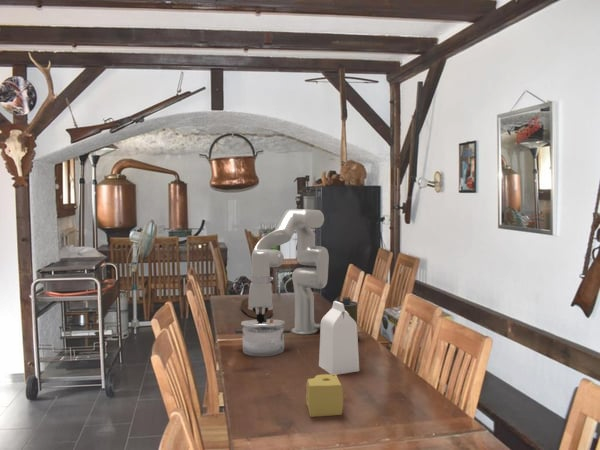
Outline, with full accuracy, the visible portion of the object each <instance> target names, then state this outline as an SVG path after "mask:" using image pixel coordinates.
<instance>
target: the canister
mask: <svg viewBox="0 0 600 450" xmlns="http://www.w3.org/2000/svg"><path fill="white" fill-rule="evenodd" d="M338 302H340V303H342V304H344V309H345V311H347V312H348V313H349V316H350V317H351V318H352V319H354V321H355V322H356V324H357V325H358V305H359V304H358V302H356V301H353V300H352V299H351V297H350V296H343V297H342V300H340V301H338Z"/></svg>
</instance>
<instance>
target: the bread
mask: <svg viewBox="0 0 600 450" xmlns="http://www.w3.org/2000/svg"><path fill="white" fill-rule="evenodd" d="M248 300H249V296H248V297H246V298H244V299H243V300H242V301H241V304H240V308H241V310H242V311H243V312H244V313H245V314H246V315H247V316H249V317H250V318H254V319H257V314H256V313H255V312H254V311H253V310H250V309H248V306H249V304H248ZM273 310H274V308H273V309H272V310H268V311H267V312H266V313H265V314H264V317H267V319H269V318H270V317H271V316H272V315H273V312H274V311H273ZM259 311H260V314H261V312H262V307H259Z"/></svg>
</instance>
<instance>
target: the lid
mask: <svg viewBox="0 0 600 450" xmlns="http://www.w3.org/2000/svg"><path fill="white" fill-rule="evenodd" d="M240 325H241V326H243V327H244V326H250V327H271V326H281V325H283V326H284V325H286V322H285V320H280V319H271V318H270V319H269V318H267V317H264V322H263V323H262V324H258V321H257V319H250V320H243V321H241V323H240Z"/></svg>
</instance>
